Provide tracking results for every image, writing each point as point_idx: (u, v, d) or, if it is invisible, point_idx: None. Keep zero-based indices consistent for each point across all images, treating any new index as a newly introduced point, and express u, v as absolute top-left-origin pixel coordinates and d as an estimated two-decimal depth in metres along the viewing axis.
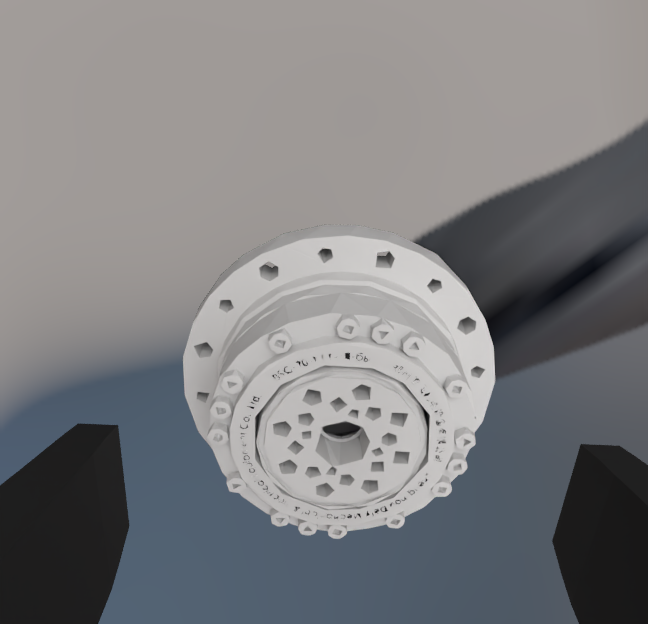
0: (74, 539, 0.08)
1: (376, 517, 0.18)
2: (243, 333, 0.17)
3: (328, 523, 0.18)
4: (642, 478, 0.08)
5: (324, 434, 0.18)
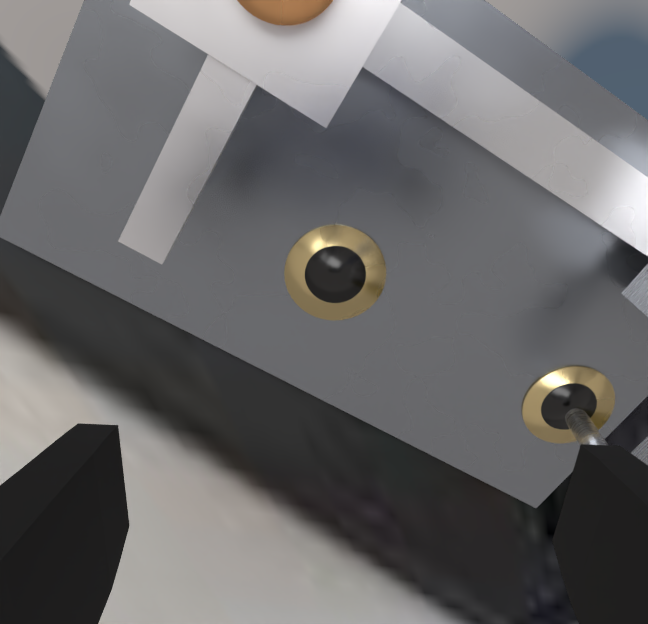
0: (74, 539, 0.08)
1: None
2: None
3: None
4: (642, 478, 0.08)
5: None
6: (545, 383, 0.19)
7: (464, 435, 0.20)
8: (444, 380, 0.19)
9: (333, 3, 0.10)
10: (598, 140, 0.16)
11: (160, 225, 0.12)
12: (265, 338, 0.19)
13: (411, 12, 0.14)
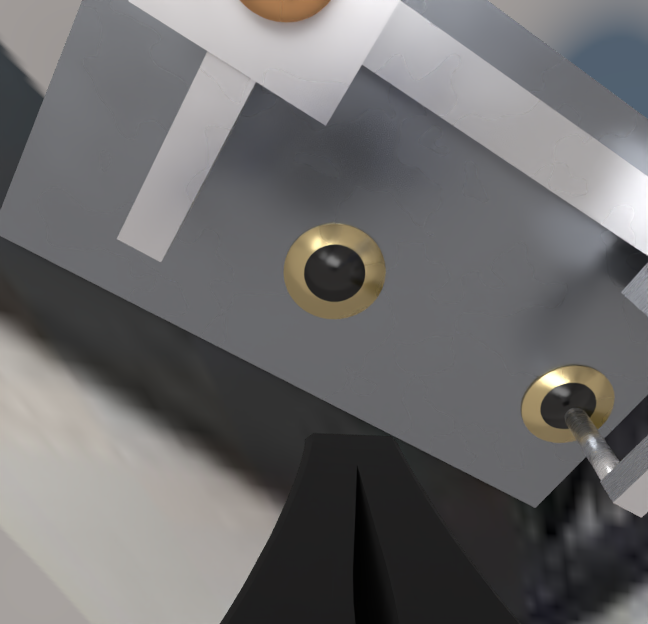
0: None
1: None
2: None
3: None
4: (383, 468, 0.08)
5: None
6: (544, 382, 0.19)
7: (463, 434, 0.20)
8: (443, 380, 0.19)
9: (333, 0, 0.10)
10: (598, 139, 0.16)
11: (159, 222, 0.12)
12: (264, 337, 0.19)
13: (411, 10, 0.14)
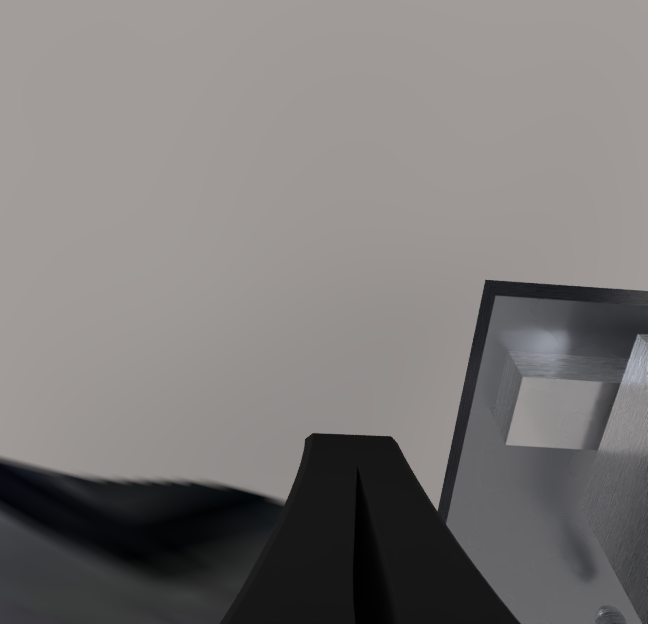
0: None
1: None
2: None
3: None
4: (383, 468, 0.08)
5: None
6: None
7: None
8: None
9: None
10: None
11: None
12: None
13: None
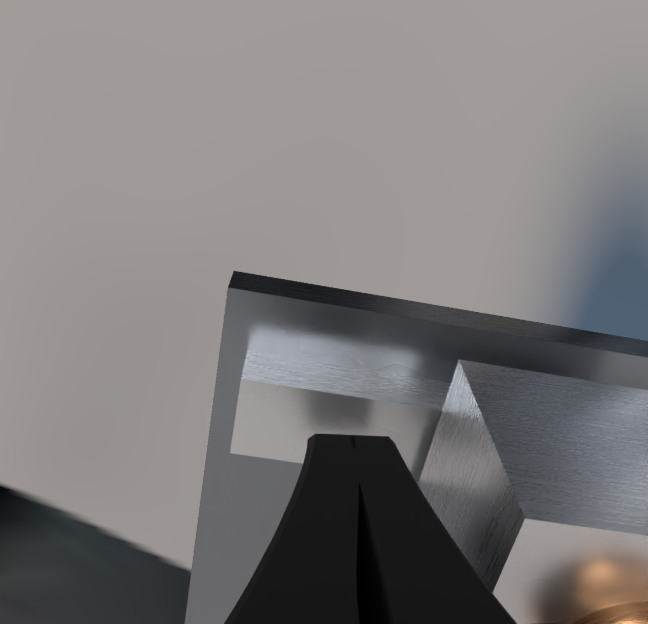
0: None
1: None
2: None
3: None
4: (380, 467, 0.08)
5: None
6: None
7: None
8: None
9: None
10: None
11: None
12: None
13: None
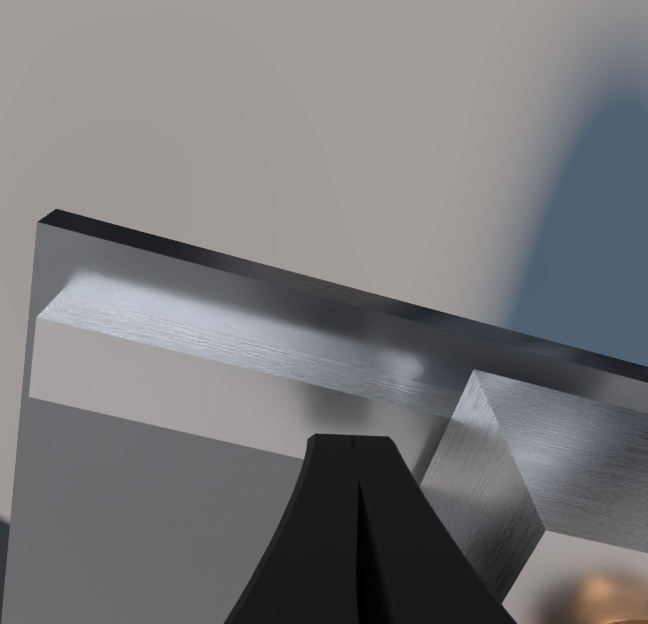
0: None
1: None
2: None
3: None
4: (381, 467, 0.08)
5: None
6: None
7: None
8: None
9: None
10: None
11: None
12: None
13: (405, 408, 0.11)
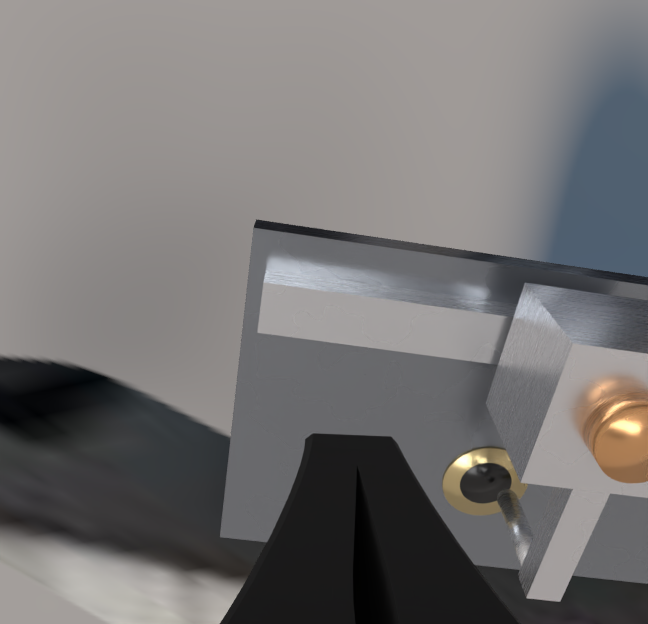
0: None
1: None
2: None
3: None
4: (383, 467, 0.08)
5: None
6: None
7: (640, 558, 0.23)
8: (606, 525, 0.22)
9: None
10: None
11: (555, 580, 0.17)
12: None
13: (484, 314, 0.17)
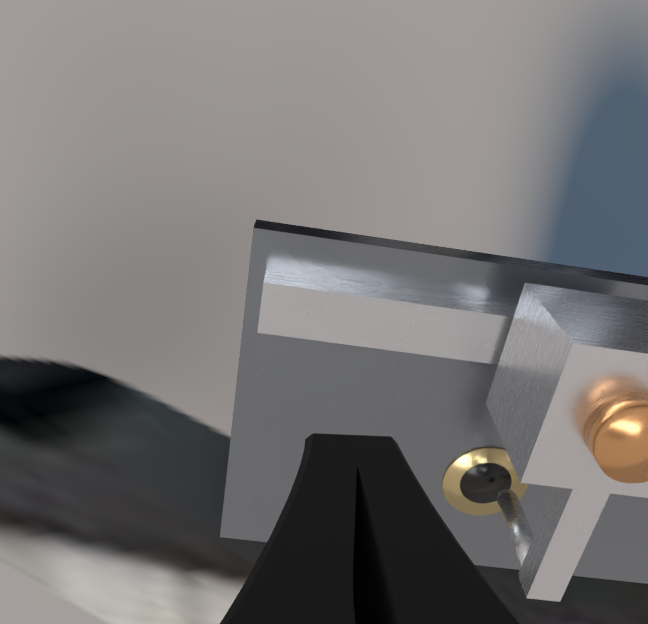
0: None
1: None
2: None
3: None
4: (383, 467, 0.08)
5: None
6: None
7: (640, 558, 0.23)
8: (606, 525, 0.22)
9: None
10: None
11: (555, 580, 0.17)
12: None
13: (484, 314, 0.17)
